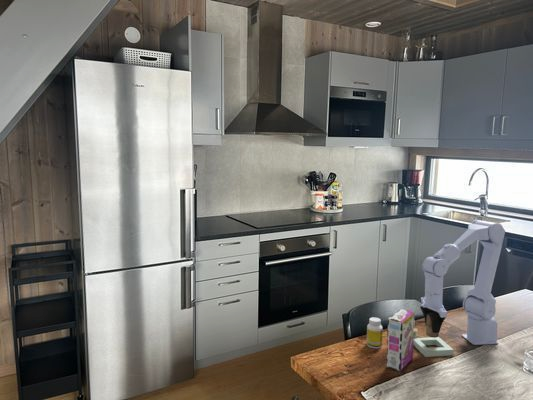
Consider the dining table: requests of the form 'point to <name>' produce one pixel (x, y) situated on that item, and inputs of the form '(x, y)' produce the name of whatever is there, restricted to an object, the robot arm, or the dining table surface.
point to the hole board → (429, 352)
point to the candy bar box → (400, 339)
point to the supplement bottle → (374, 333)
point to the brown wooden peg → (430, 328)
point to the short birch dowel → (415, 333)
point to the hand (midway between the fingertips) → (432, 329)
